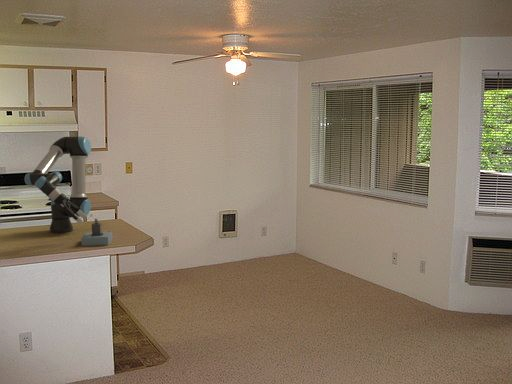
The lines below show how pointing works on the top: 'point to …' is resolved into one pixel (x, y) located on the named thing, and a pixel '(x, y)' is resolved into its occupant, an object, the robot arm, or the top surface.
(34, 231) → the top surface
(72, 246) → the top surface
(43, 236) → the top surface
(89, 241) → the socket
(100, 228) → the gray bottle
